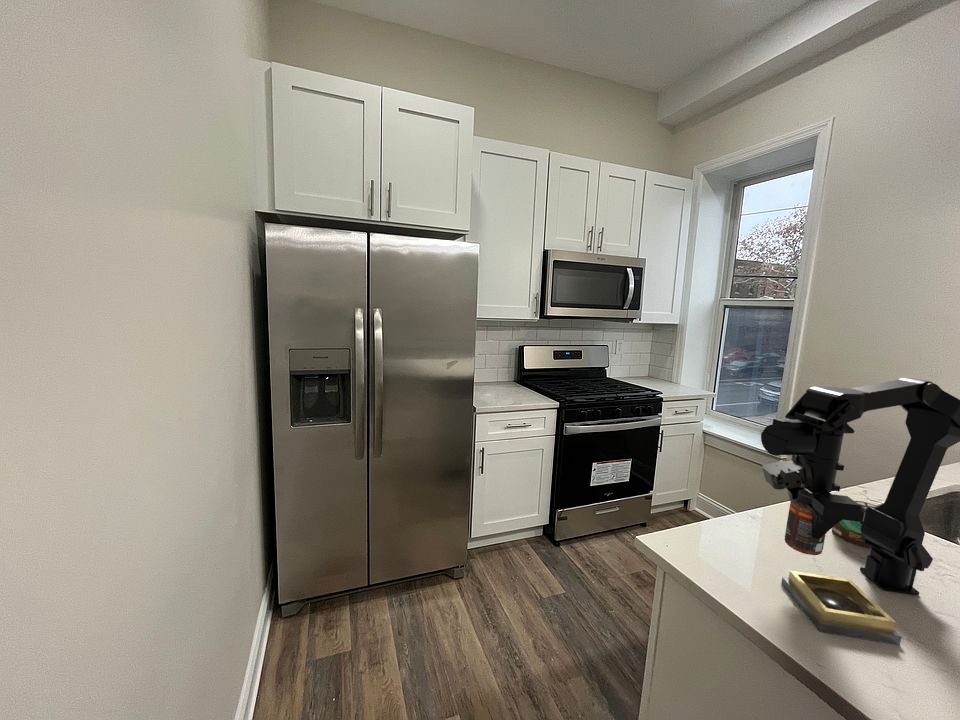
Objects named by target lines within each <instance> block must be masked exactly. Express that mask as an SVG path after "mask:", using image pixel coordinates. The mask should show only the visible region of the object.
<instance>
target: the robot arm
mask: <svg viewBox="0 0 960 720" xmlns="http://www.w3.org/2000/svg"><path fill="white" fill-rule="evenodd" d="M898 406H899V407H901V408H902V409H903V410H904V411H905V412H906V413H907V414H906V416H905V417H906V418H905V420H904V421H905V426H906V428H907V431H908V434H909V437H910V439H909V442H908V444H907V446H906V449H905V451H904V454H903V457H902V459H901V461H900V464H899V466H898V468H897V471H896V474H895V476H894V478H893V481H892V483H891V485H890V488H889V490H888V493H887V495H886V499H885V501H884V502H883V503H882V504H880V505H877V506H878V507H876V508H874V509H873V508H871V507H869V508H867V509H866V511H865V510H864V508H863V507H862V506H861V505H859V504H858V503H857V502H855V501H856V500H854V499H852V498H851V497H849V496H848V495H842V494H841V495H840V494H835V493H834V494H835V495H834V494H833V493H831V492H840V491H841V485H839V484H838V483H836V478H837V473H838V471H844V469H845V465H844V464H842V463H841V462H839V461H840V456H841V449H842V445H843V440H844V435H845V434H846V435H847V434H855V430H854V429H853V428H852V427H851V426H850V425H849V424H848V423H851V422H853V421H856V420H859V419H861V418H862V416H863V414H864V413H866V412H871V411H875V410H880V409H887V408H892V407H898ZM784 417H785V419H782V418H773V419H772V424H769V425H767V426H766V427H764V429H763V430H762V431H761V433H760V440H761V441H760V442H761V445H762V447H763V448H764V450H765V451H766V452H767V453H768V454H769V455H771V456H777V457H778V456H779V457H780V456H781V457H782V456H791V460H782V461H777V462H772V463H767V464H763V465H761V467H762V472H763V475H764V479H765V482H766V483H768V484H769V485H770V486H771V487H772V488H773V489H774V490H778V491H779V490H784V489H785V490H786V491H787V493H788V497H789V502H790V503H791V501H792V500H794V499H797V498H798V497H797V496H798V492H799V491H800V490H807V491H808V492H809V493H811V494H814V495H815V496H813V498H812V504H806V505H807V506H808V508H809V509H810V510H811V511H812V513H813V516H812V537H813V538H816V539H820V538H821V537H822V536H824V535H825V536H826V534H827V533H828V532H829V531H830V530H832V527H834V526H835V525H836V524H837V523H839V522H840V521H842V520H849V521H857V522H860V524H861V532H862V539H863V543H864V544H866V545H868V546H870V547H872V548H870V552H869V555H867V557H866V561H865V565H864V567H862V566H861V567H860V568H859V570H860V572H862V573H863V574H864V575H865V576H866V577H868V578H869V579H870V580H871V581H872V582H873V583H874V584H875V585H876V586H877V587H878V588H881V590H883V591H889V592H895V593H902V594H909V595H915V596H916V595H917V596H919V595H920V591H918V589H916V588H914V582H915V579H916V574H917V571H919V572H925V569H929V567H930V566H931V564H932V562H933V561H934V559H933V557H932V555H931V554H930V553H929V552H928V551H927V549H926V547H925V546H924V545H923V543H924V540H925V539H924V538H925V533H926V532H925V529H924V526H923V524H922V521H921V518H920V515H921V511H922V509H923V507H924V505H925V502H926V500H927V498H928V495H929V494H930V490H931V489H932V486H933V483H934V480H935V479H936V476H937V474H938V472H939V469H940V467H941V464H942V462H943V459H944V457H945V455H946V452H947V451H948V449H949V448H950V447H952V446H954V445H956V444H958V443H959V442H960V399H959V398H957V397H956V396H954V395H952V394H951V393H948V392H947V391H945V390H943V389H942V388H941V387H940V386H939V385H938V384H937V383H934V382H933V381H930V380H926V379H925V380H924V379H923V380H922V379H918V378H913V377H900V378H898V379H895V380H891V381H886V382H878V383H874V384H868V385H861V386H855V387H850V388H846V387H836V386H834V387H833V386H812V387H809V388H807V389H806V391H805V393H803V395H802V396H801V397H800V398H799V399H798V401H797V402H796V403H795V404H794V405H793V406H792V407H791V409H789V411H788V412H787V414H786V415H784Z"/></svg>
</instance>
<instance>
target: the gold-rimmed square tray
mask: <svg viewBox="0 0 960 720" xmlns="http://www.w3.org/2000/svg"><path fill="white" fill-rule="evenodd" d="M780 584H781V586H784V587H783V588H784V590H785V591H786V592H787V593H788V594H789V596H790V597H791V598H792V599H793V601H795V603H796V604H797V606H799V608H800V610H801V611H802V612H803V613H804V614H805V615H806V617H807V618H808V619H809V620H810V622H811V623H812V624H813V625H814V626H815V628H816V629H817V630H818V631H819V632H820V633H826V634H832V635H837V636H844V637H848V638H856V639H863V640H868V641H874V642H879V643H885V644H893V645H896V646H901V641H902V638H903V637H902V636H901V635H900V633H899V632H898V631H896V630H895V628H896V624H897V622H896V621H895V620H894V619H893V618H892V617H891V616H890V615H889V614H887V612H886V611H884V610H883V609H882V608H881V607H880V606H879V605H878V604H877V603H876V602H875V600H873V599H872V598H871V597H869V595H868V594H866V593H865V592H864V591H863V590H862V589H861V588H860V587H859V585H857V584H856V583H855V582H854V581H852V580H851V579H849V578H841V577H836V576H835V577H834V576H828V575H821V574H815V573H807V572H801V571H795V570H794V571H793V570H789V574H788V577H787V576H785V577H784V576H782V578H781V583H780Z"/></svg>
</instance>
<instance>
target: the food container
mask: <svg viewBox="0 0 960 720" xmlns="http://www.w3.org/2000/svg"><path fill="white" fill-rule="evenodd" d="M834 495H836V494H835V493H834ZM854 501H855V502H857V503H858V504H859V505H861V506H862V507H863V508H864V510H865V511H866V509H867V508H869V507H871V508H873V509H874V508H876V507H878V506H879V505H878V504H877V505H876V504H873V503H870V502H866V501H863V500H854ZM831 532H832V533H833V535H834V536H836V537H838V538H839V539H841V540H842V541H845V542H847V543H850V544H852V545H854V546H859V547H861V548H866V549H871V548H872V547H870V546H868V545H866V544H864V543H863V539H862V532H861V524H860V522H857V521H849V520H842V521H840V522H839V523H837V524H836V525H835V526H834V527H832V528H831Z"/></svg>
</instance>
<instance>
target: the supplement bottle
mask: <svg viewBox="0 0 960 720" xmlns="http://www.w3.org/2000/svg"><path fill="white" fill-rule="evenodd" d="M813 496H815V495H814V494H811V493H809V492H808V491H807V490H800V491H799V492H798V496H797V497H798V498H797V499H794V500H792V501H791V502H790V503H789V509H788V515H787V521H786V527H785V532H784V533H785V534H784V542H785V545H787V546H789V547H790V548H791V549H793V550H794V551H796V552H799V553H802V554H805V555H808V556H809V555H810V556H819V555H822V553H823V550H824V546H825V545H824V544H825V540H826V534H825V535H824V536H822V537H821V538H820V539H816V538H813V537H812V516H813V513H812V511H811V510H810V509H809V508H808V506H807V505H806V504H812V498H813Z"/></svg>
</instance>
